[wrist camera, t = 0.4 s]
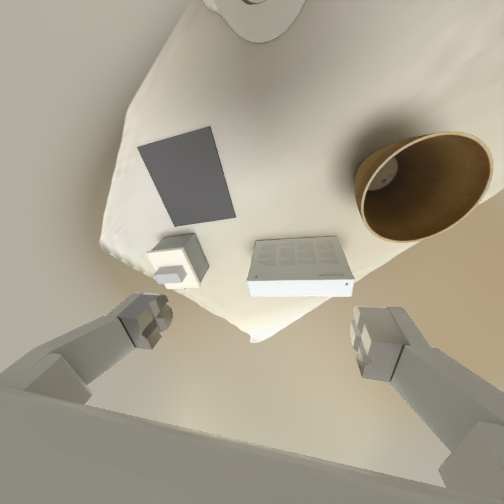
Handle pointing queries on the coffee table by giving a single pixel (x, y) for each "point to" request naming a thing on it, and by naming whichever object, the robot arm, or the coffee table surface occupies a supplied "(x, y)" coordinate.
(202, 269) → the grey storage box
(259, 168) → the coffee table surface
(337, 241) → the skincare box
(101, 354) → the robot arm
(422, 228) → the plant pot
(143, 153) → the black rubber mat
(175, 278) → the cream lid
